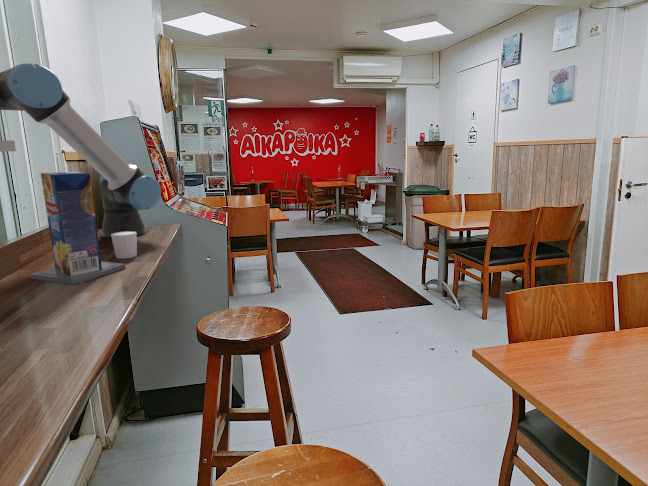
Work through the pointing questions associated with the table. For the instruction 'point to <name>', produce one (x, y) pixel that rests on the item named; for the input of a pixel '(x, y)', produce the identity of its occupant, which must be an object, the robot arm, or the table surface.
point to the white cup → (125, 244)
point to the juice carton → (72, 222)
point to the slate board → (61, 277)
